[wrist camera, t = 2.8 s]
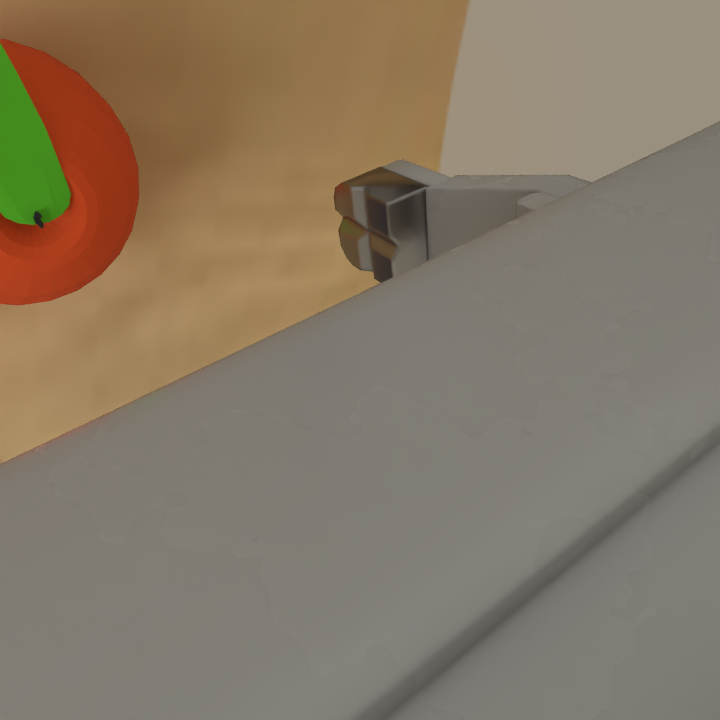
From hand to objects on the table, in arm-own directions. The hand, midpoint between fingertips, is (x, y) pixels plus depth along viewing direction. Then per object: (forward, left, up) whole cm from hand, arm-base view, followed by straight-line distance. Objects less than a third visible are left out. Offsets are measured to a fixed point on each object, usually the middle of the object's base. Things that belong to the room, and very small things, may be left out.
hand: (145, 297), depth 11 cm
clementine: (0, 0, -13) cm, 13 cm away
